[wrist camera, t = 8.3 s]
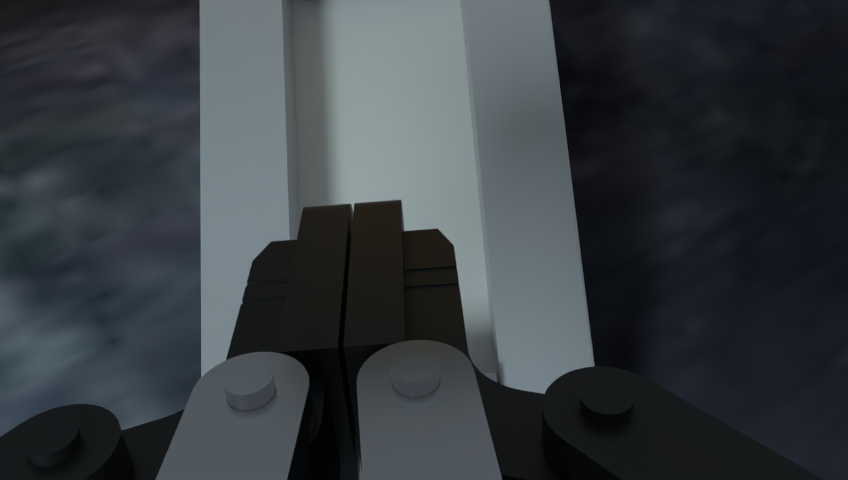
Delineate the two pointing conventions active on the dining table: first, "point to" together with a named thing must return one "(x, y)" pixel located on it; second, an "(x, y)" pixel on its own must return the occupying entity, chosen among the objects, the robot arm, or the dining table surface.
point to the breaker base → (398, 157)
